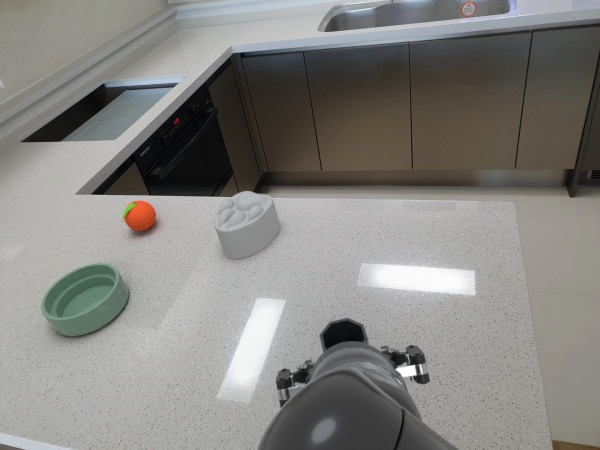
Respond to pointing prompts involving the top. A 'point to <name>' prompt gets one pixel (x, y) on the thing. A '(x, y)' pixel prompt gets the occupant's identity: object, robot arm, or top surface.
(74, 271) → the bowl
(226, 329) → the top surface
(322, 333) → the cup
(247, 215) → the lumpy-topped squat cylinder
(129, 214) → the clementine
